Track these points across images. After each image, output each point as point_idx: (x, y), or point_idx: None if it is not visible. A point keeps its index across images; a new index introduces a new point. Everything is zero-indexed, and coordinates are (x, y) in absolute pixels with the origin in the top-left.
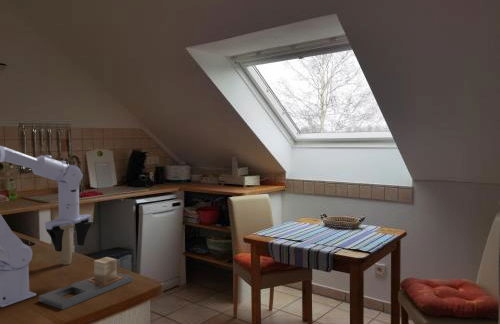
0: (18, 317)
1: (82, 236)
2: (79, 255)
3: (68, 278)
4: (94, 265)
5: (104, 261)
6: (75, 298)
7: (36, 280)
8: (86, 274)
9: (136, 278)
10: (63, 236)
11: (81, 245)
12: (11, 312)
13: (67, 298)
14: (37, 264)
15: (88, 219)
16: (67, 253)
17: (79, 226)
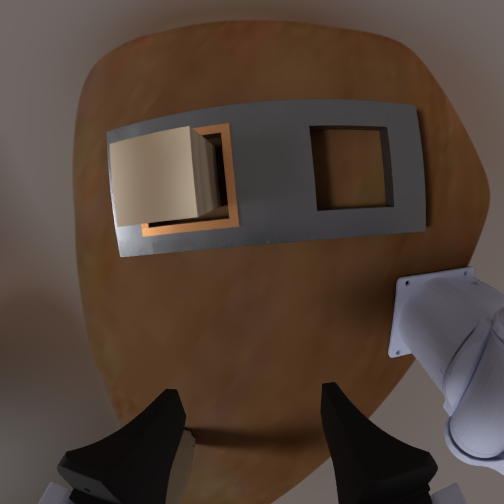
0: (479, 175)
1: (155, 428)
2: None
3: (243, 343)
4: (203, 212)
5: (169, 154)
6: (371, 102)
7: (314, 393)
8: (180, 328)
9: (93, 149)
10: (174, 501)
11: (177, 393)
12: (475, 219)
13: (387, 126)
14: (238, 469)
15: (66, 500)
16: (177, 452)
17: (146, 497)
